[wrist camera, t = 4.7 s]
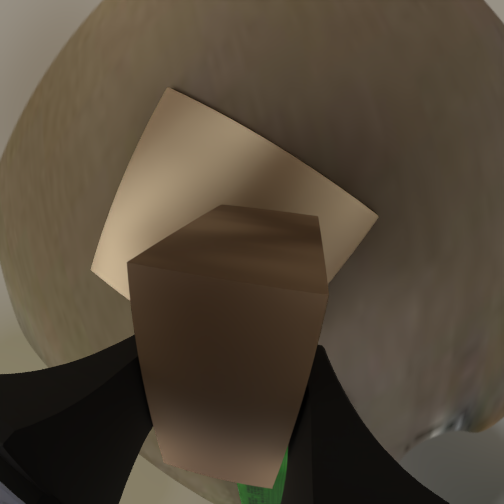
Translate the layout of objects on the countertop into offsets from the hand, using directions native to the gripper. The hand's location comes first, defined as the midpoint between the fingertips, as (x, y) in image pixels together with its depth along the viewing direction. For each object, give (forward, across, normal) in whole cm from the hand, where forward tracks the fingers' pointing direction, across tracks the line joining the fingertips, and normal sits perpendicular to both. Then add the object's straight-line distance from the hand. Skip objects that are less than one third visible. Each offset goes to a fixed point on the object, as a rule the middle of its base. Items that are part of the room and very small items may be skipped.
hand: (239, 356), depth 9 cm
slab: (+4, 0, 0) cm, 4 cm away
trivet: (+6, +3, -2) cm, 7 cm away
